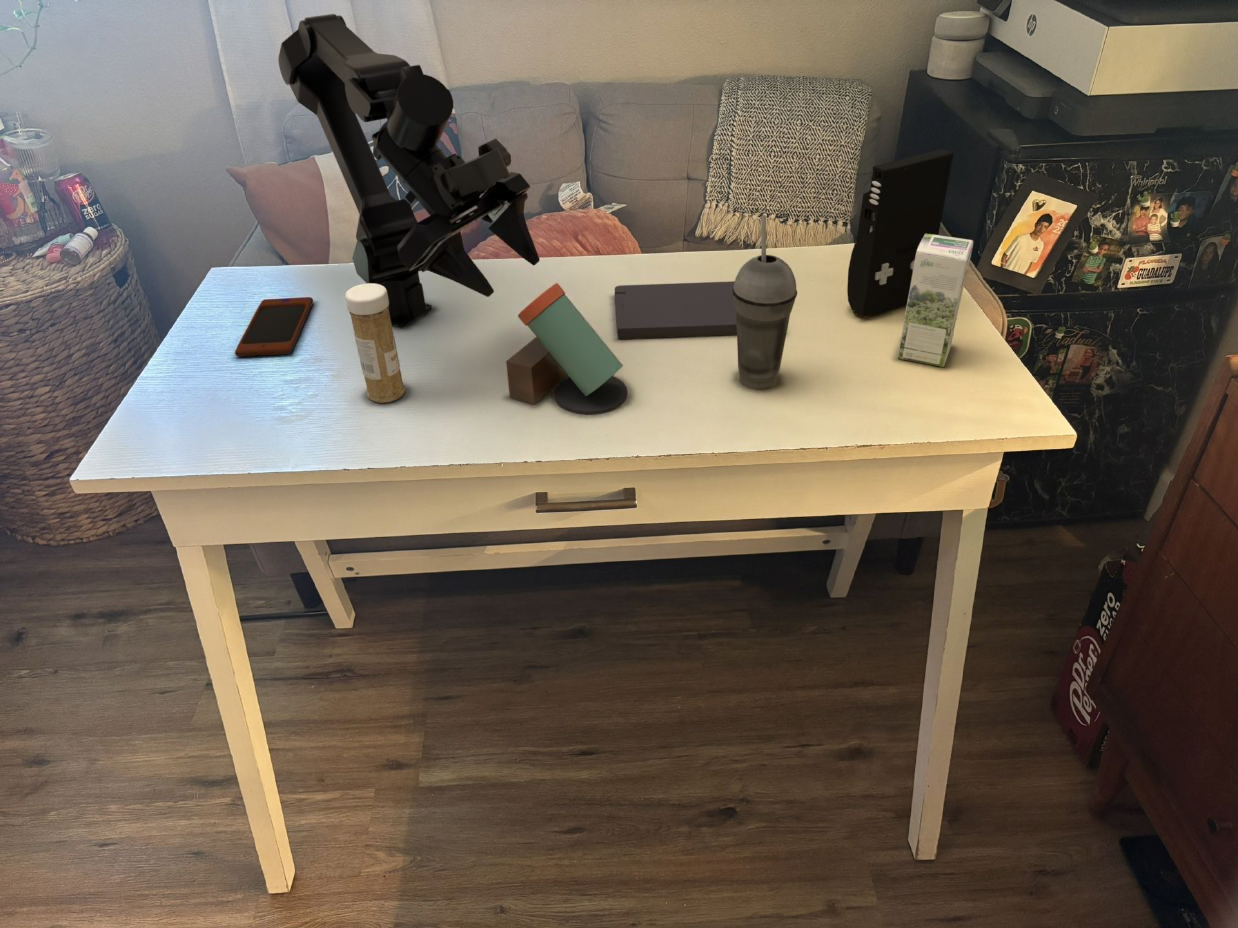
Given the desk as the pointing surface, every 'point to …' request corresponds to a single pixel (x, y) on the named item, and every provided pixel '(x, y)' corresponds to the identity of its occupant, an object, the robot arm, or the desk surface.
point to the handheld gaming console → (895, 229)
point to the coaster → (591, 396)
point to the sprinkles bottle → (375, 341)
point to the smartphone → (274, 327)
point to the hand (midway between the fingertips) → (514, 278)
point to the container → (570, 339)
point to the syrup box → (934, 298)
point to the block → (533, 373)
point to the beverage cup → (762, 315)
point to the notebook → (675, 310)
